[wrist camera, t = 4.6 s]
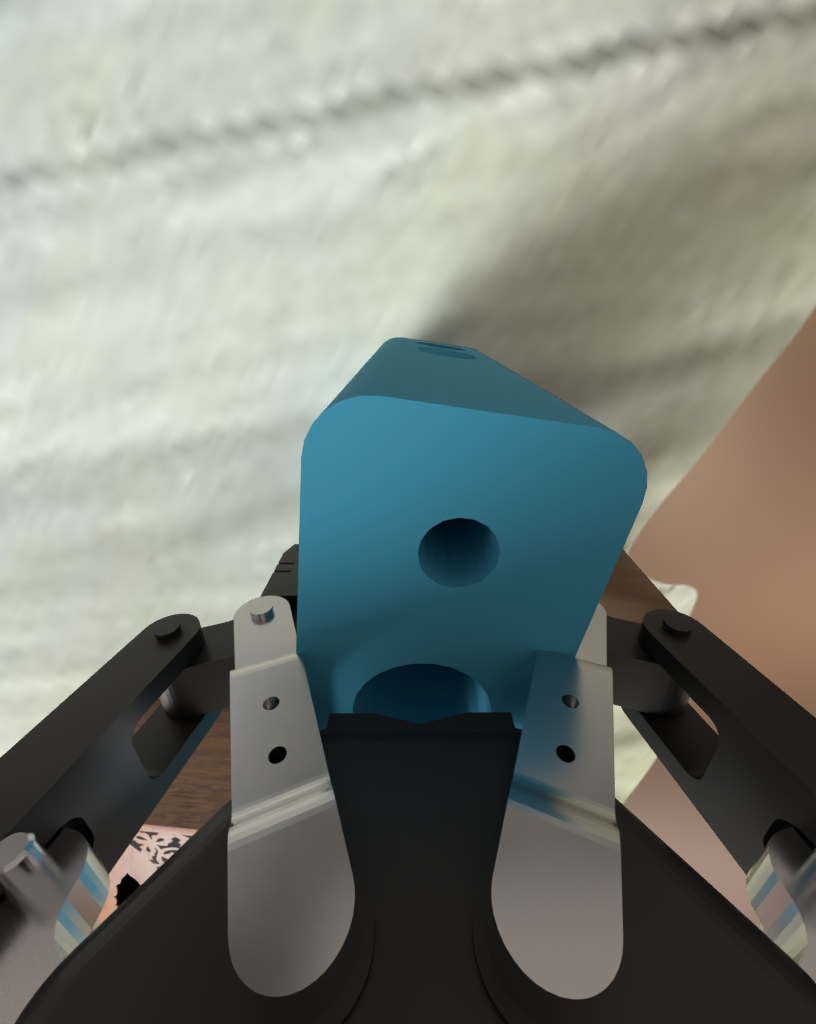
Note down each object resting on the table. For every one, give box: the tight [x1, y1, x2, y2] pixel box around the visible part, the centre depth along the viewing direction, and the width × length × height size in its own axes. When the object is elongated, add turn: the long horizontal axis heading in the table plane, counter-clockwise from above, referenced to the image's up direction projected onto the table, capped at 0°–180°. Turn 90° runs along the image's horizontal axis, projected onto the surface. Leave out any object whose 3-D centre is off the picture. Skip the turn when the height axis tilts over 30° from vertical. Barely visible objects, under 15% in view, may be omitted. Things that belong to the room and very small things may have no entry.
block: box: [296, 337, 647, 731], centre depth 17 cm, size 12×5×20 cm, turn 172°
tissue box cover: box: [98, 699, 231, 926], centre depth 39 cm, size 26×14×10 cm, turn 171°
